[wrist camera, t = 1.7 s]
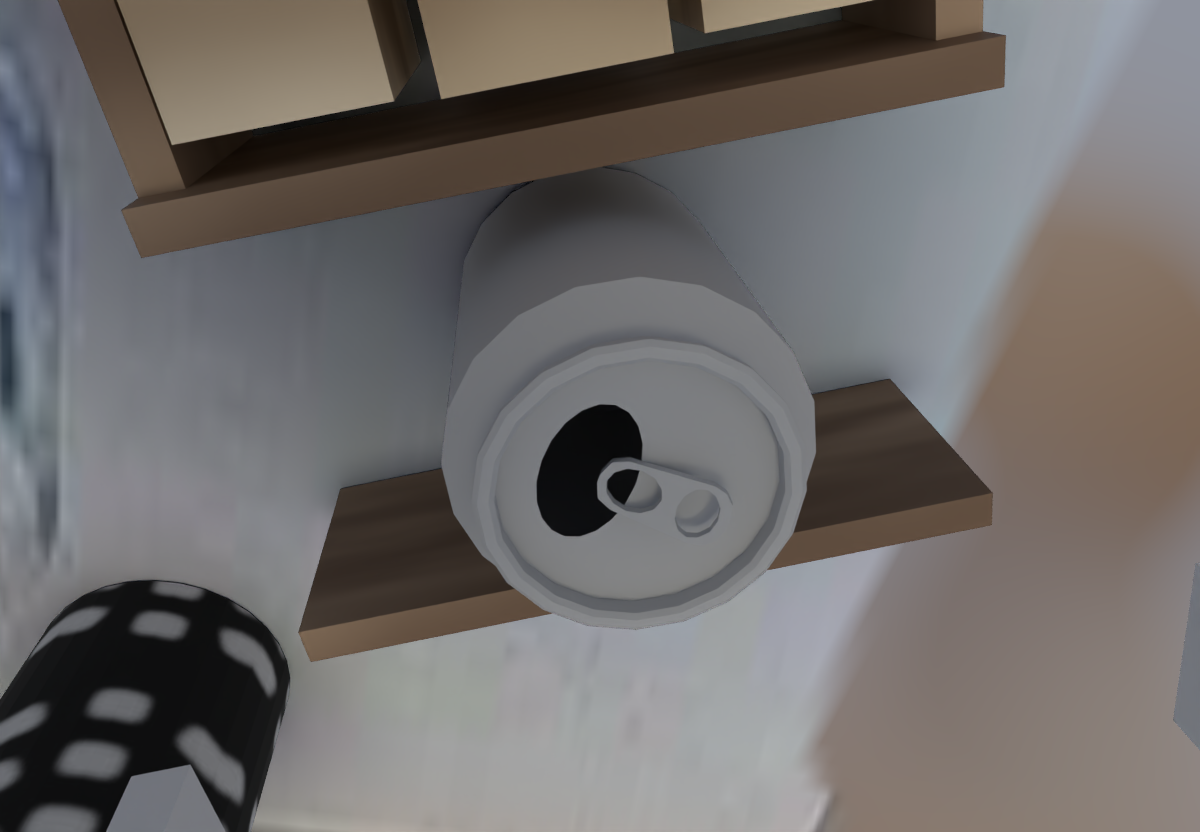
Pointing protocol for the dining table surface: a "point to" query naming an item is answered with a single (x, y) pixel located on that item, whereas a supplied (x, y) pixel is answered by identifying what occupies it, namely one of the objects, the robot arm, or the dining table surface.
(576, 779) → the dining table surface
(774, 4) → the offcut block
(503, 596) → the rack
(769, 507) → the can
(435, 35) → the offcut block
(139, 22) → the offcut block
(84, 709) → the spotted tube
